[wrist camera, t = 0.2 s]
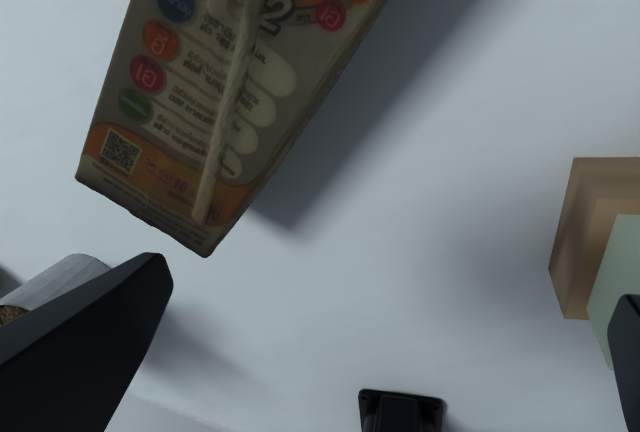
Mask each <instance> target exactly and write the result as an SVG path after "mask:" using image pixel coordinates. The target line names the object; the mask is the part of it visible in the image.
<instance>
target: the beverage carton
mask: <svg viewBox="0 0 640 432" xmlns="http://www.w3.org/2000/svg"><path fill="white" fill-rule="evenodd" d="M387 1H388V0H130V3H129V6H128V9H127V12H126V15H125V18H124V21H123V24H122V27H121V30H120V33H119V37H118V40H117V43H116V46H115V49H114V52H113V55H112V59H111V62H110V65H109V68H108V71H107V74H106V78H105V81H104V84H103V87H102V90H101V93H100V96H99V99H98V103H97V106H96V109H95V112H94V115H93V118H92V122H91V125H90V128H89V131H88V135H87V138H86V141H85V144H84V147H83V151H82V154H81V158H80V163H79V166H78V169H77V172H76V175H75V179H76V180H77V181H78V182H80V183H82V184H84V185H86V186H87V187H89V188H90V189H92V190H94V191H96V192H98V193H100V194H102V195H104V196H106V197H107V198H108V199H110V200H111V201H113V202H115V203H116V204H118V205H120V206H122V207H123V208H125V209H127V210H128V211H129V212H130V213H131V214H132V215H133V216H135V217H137V218H139V219H141V220H142V221H144V222H145V223H147V224H148V225H150V226H153V227H155V228H157V229H159V230H160V231H162V232H164V233H166V234H168V235H170V236H171V237H172V238H174V239H175V240H176V241H178V242H179V243H181V244H182V245H183V246H185V247H186V248H188V249H190V250H192V251H193V252H195V253H196V254H198V255H199V256H201V257H202V258H207V257H209V256H210V255H211V254H212V253H213V251H214V250H215V248H216V247H217V245H218V244H219V243H220V242H221V241H222V240H223V238H224V237H225V236H226V235H227V234H228V232H229V231H230V230H231V229H232V228H233V226H234V225H235V224H236V222H237V221H238V220H239V218H240V217H241V216H242V215H243V213H244V212H245V211H246V209H247V208H248V207H249V205H250V204H251V203H252V201H253V200H254V199H255V197H256V196H257V194H258V193H259V192H260V191H261V189H262V188H263V187H264V185H265V184H266V182H267V181H268V180H269V178H270V177H271V175H272V174H273V173H274V171H275V170H276V168H277V167H278V165H279V164H280V163H281V161H282V160H283V158H284V157H285V155H286V154H287V153H288V151H289V150H290V148H291V147H292V145H293V144H294V142H295V141H296V140H297V138H298V137H299V135H300V134H301V132H302V131H303V129H304V128H305V127H306V125H307V124H308V122H309V121H310V120H311V118H312V117H313V115H314V114H315V112H316V111H317V109H318V108H319V106H320V105H321V103H322V102H323V100H324V99H325V97H326V96H327V94H328V93H329V91H330V90H331V88H332V87H333V85H334V84H335V82H336V81H337V79H338V78H339V76H340V75H341V73H342V71H343V70H344V68H345V67H346V65H347V63H348V62H349V60H350V59H351V57H352V56H353V54H354V53H355V51H356V49H357V48H358V46H359V45H360V43H361V42H362V40H363V39H364V37H365V35H366V34H367V32H368V31H369V29H370V28H371V26H372V25H373V23H374V21H375V20H376V18H377V17H378V15H379V14H380V12H381V11H382V9H383V8H384V6H385V4H386V3H387Z"/></svg>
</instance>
